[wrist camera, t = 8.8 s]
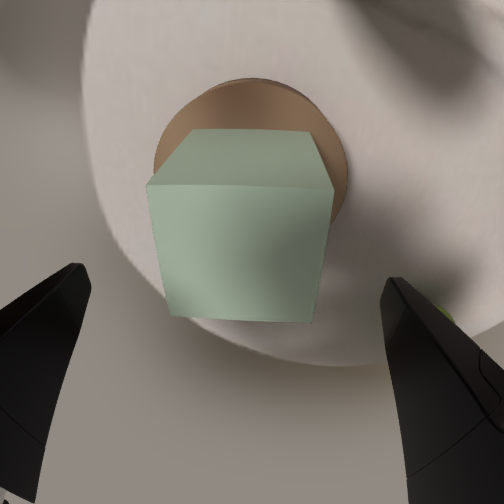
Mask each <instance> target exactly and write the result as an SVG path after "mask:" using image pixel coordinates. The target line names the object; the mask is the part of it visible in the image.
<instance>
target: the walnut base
mask: <svg viewBox="0 0 504 504" xmlns="http://www.w3.org/2000/svg"><path fill="white" fill-rule="evenodd" d="M193 129H261V130H285V131H302V132H310V134H311V136H312V138H313V140H314V143H315V145H316V147H317V149H318V152H319V154H320V156H321V159H322V161H323V163H324V166H325V168H326V171H327V173H328V175H329V178H330V180H331V183H332V185H333V188H334V198H333V205H332V211H331V218H330V224H329V226H330V225H331V223H332V222H333V221H334V219H335V217H336V216H337V214H338V212H339V210H340V208H341V205H342V203H343V200H344V196H345V192H346V188H347V176H348V175H347V163H346V158H345V153H344V150H343V147H342V145H341V142H340V139H339V138H338V136H337V134H336V132H335V130H334V129H333V127H332V126H331V125H330V123H329V122H328V121H327V119H326V118H325V117H324V115H323V114H322V113H321V112H320V110H319V109H318V108H317V106H316V105H315V104H314V103H313V102H311V101H310V100H309V99H308V98H307V97H306V96H304V95H303V94H302V93H300V92H299V91H297V90H295V89H293V88H291V87H290V86H287V85H285V84H282V83H279V82H276V81H272V80H268V79H259V78H244V79H237V80H232V81H228V82H225V83H222V84H219V85H217V86H215V87H213V88H211V89H209V90H207V91H206V92H204V93H203V94H202V95H200V96H199V97H197V98H196V99H194V100H193V101H191V102H190V103H189V104H187V105H186V106H185V107H184V108H182V109H181V110H180V111H179V112H178V113H177V114H176V115H175V116H174V118H173V119H172V120H171V122H170V123H169V124H168V126H167V127H166V129H165V131H164V132H163V134H162V136H161V139H160V141H159V144H158V146H157V150H156V154H155V159H154V174H155V173H156V172H157V171H158V169H159V168H160V167H161V166H162V164H163V163H164V162H165V161H166V160H167V159H168V157H169V156H170V155H171V154H172V153H173V151H174V150H175V149H176V148H177V147H178V146H179V144H180V143H181V142H182V141H183V140H184V139H185V138H186V137H187V135H188V134H189V133H190V132H191V131H192V130H193Z"/></svg>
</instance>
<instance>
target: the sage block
mask: <svg viewBox="0 0 504 504" xmlns="http://www.w3.org/2000/svg"><path fill="white" fill-rule="evenodd" d="M146 191H147V198H148V204H149V211H150V217H151V223H152V229H153V234H154V240H155V245H156V251H157V256H158V261H159V266H160V271H161V276H162V281H163V286H164V290H165V295H166V300H167V304H168V308H169V313H170V315H171V316H182V317H195V318H210V319H225V320H244V321H266V322H297V323H312V318H313V313H314V308H315V303H316V298H317V293H318V288H319V283H320V277H321V272H322V266H323V260H324V255H325V249H326V243H327V237H328V231H329V224H330V218H331V211H332V205H333V198H334V188H333V185H332V183H331V180H330V178H329V175H328V173H327V171H326V168H325V166H324V163H323V161H322V159H321V156H320V154H319V152H318V149H317V147H316V145H315V143H314V140H313V138H312V136H311V134H310V132H302V131H285V130H261V129H193V130H192V131H191V132H190V133H189V134H188V135H187V137H186V138H185V139H184V140H183V141H182V142H181V143H180V144H179V146H178V147H177V148H176V149H175V150H174V151H173V153H172V154H171V155H170V156H169V157H168V159H167V160H166V161H165V162H164V163H163V164H162V166H161V167H160V168H159V169H158V171H157V172H156V173H155V174H154V175H153V177H152V178H151V179H150V180H149V182H148V183H147V184H146Z"/></svg>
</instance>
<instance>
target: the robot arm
mask: <svg viewBox="0 0 504 504" xmlns="http://www.w3.org/2000/svg"><path fill="white" fill-rule="evenodd" d="M90 293H91V283H90V280H89V277H88V274H87V271H86V268H85V266H84V265H83V264H82V263H70V264H69V265H67V266H66V267H64V268H62V269H61V270H59V271H57V272H56V273H55V274H53V275H51V276H50V277H48V278H47V279H45V280H44V281H42V282H40V283H39V284H37V285H36V286H35V287H33V288H32V289H30V290H29V291H27V292H25V293H24V294H23V295H21V296H20V297H18V298H17V299H15V300H14V301H12V302H11V303H10V304H8V305H7V306H5V307H4V308H2V309H1V310H0V504H9V503H8V501H7V500H5V499H4V498H5V494H6V491H9V492H11V493H13V494H15V495H17V496H19V497H21V498H23V499H25V500H27V501H29V502H31V503H35V499H36V493H37V487H38V482H39V476H40V471H41V466H42V461H43V456H44V452H45V446H46V442H47V438H48V434H49V430H50V426H51V422H52V418H53V415H54V411H55V407H56V404H57V400H58V397H59V394H60V390H61V387H62V383H63V380H64V377H65V374H66V371H67V368H68V365H69V362H70V359H71V356H72V353H73V350H74V347H75V344H76V341H77V339H78V336H79V333H80V329H81V326H82V322H83V318H84V314H85V311H86V307H87V303H88V300H89V297H90ZM380 309H381V317H382V325H383V333H384V342H385V350H386V355H387V360H388V365H389V370H390V375H391V380H392V385H393V390H394V395H395V400H396V407H397V413H398V419H399V425H400V431H401V438H402V445H403V453H404V460H405V469H406V478H407V488H408V501H409V504H504V370H503V369H502V368H501V367H500V366H499V365H498V364H497V363H496V362H494V361H493V360H492V359H491V358H490V357H489V356H488V355H487V354H486V353H485V352H484V351H483V350H482V349H480V348H479V346H478V345H477V344H476V343H475V342H474V341H473V340H472V339H471V338H470V337H468V336H467V335H466V334H465V333H464V332H463V331H462V330H461V329H460V328H459V327H458V326H457V325H456V324H455V323H453V322H452V321H451V320H450V319H449V318H448V317H447V316H446V315H445V314H444V313H442V312H441V311H440V310H439V309H438V308H437V307H436V306H435V305H434V304H432V303H431V302H430V301H429V300H428V299H427V298H426V297H424V296H423V295H422V294H421V293H420V292H419V291H418V290H416V289H415V288H414V287H413V286H412V285H411V284H409V283H408V282H407V281H406V280H405V279H404V278H402V277H389V278H388V279H387V281H386V284H385V287H384V290H383V293H382V295H381V299H380Z"/></svg>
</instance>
